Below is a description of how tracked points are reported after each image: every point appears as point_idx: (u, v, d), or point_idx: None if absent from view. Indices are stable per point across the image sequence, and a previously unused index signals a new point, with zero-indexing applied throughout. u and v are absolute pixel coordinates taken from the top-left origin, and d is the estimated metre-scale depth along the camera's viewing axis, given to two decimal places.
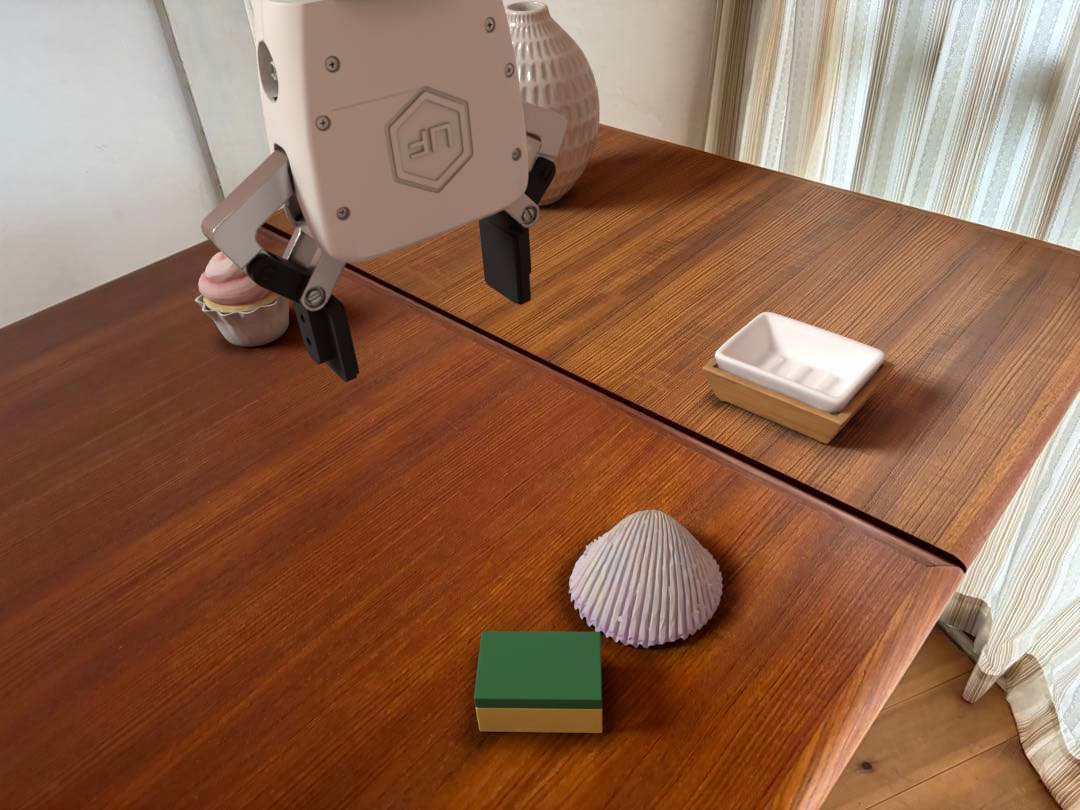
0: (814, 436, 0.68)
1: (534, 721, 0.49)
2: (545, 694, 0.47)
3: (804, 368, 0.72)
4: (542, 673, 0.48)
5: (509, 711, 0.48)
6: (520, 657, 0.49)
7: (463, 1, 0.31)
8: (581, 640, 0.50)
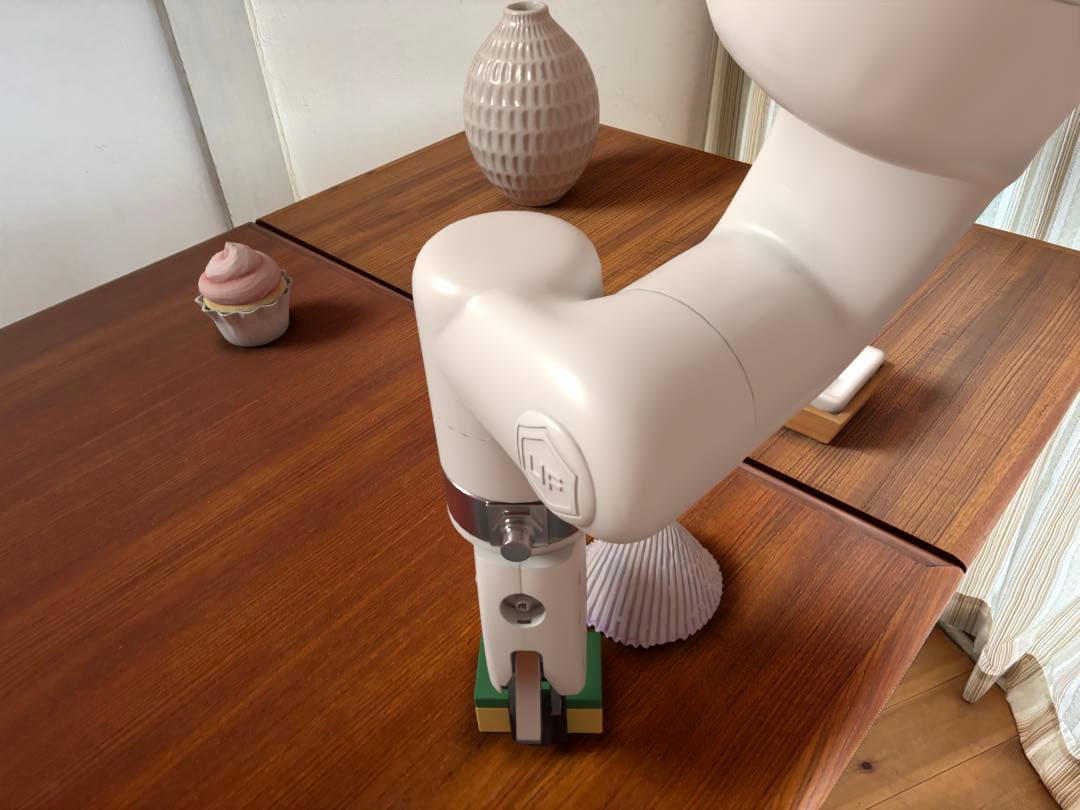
0: (814, 436, 0.67)
1: None
2: None
3: None
4: None
5: None
6: None
7: None
8: None
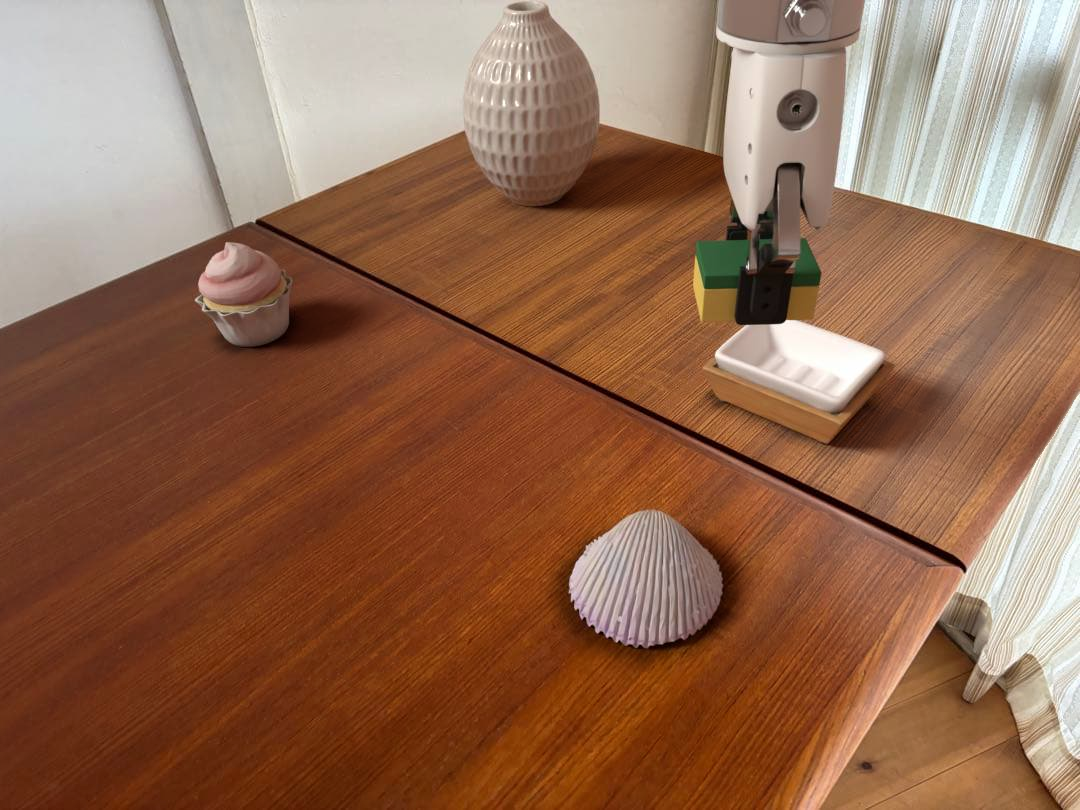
0: (814, 436, 0.67)
1: None
2: None
3: (804, 368, 0.72)
4: None
5: (734, 292, 0.53)
6: (738, 253, 0.55)
7: None
8: None
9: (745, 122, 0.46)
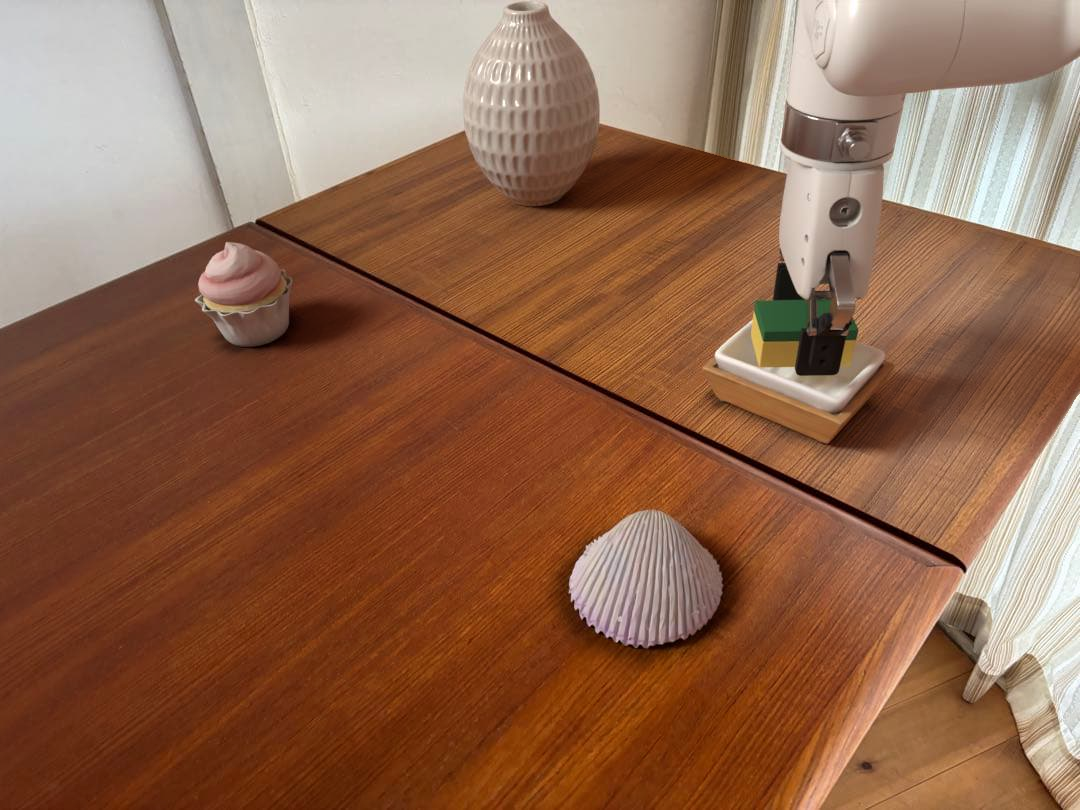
0: (814, 436, 0.68)
1: None
2: None
3: None
4: None
5: (787, 344, 0.66)
6: (790, 312, 0.68)
7: None
8: None
9: (803, 217, 0.59)
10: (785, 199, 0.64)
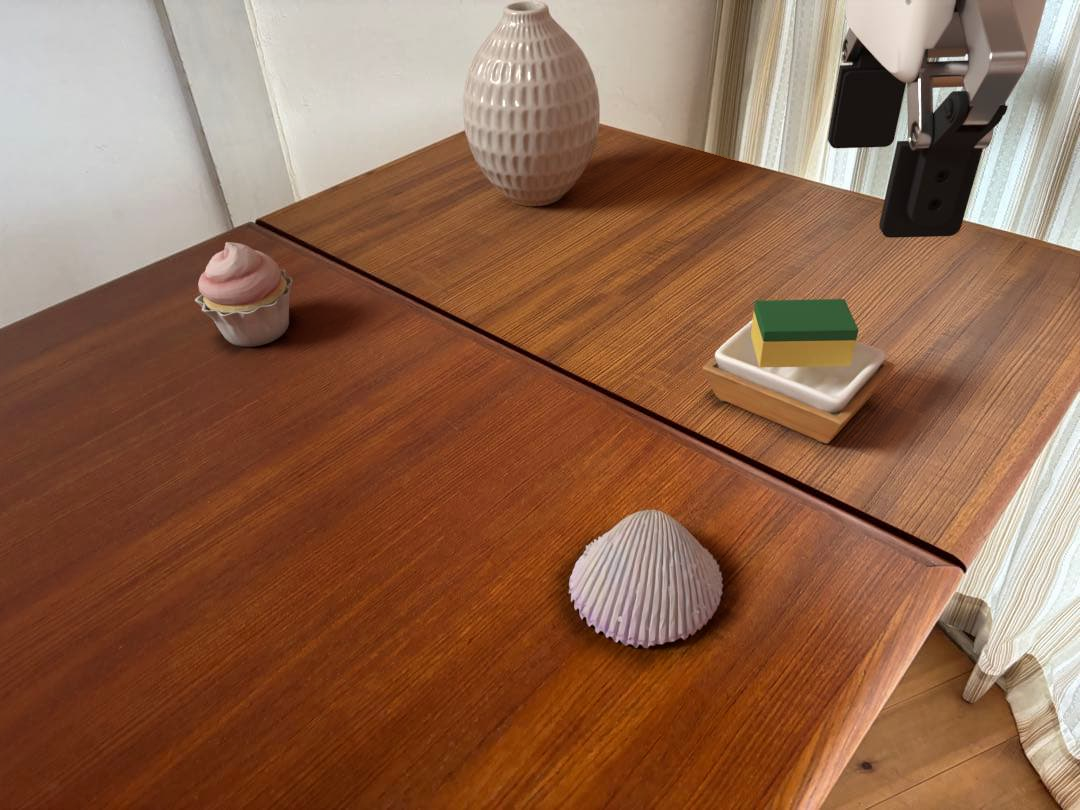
0: (814, 436, 0.68)
1: (803, 354, 0.67)
2: (816, 328, 0.66)
3: (804, 368, 0.72)
4: (809, 318, 0.67)
5: (787, 344, 0.66)
6: (790, 312, 0.68)
7: None
8: (832, 303, 0.68)
9: None
10: None
